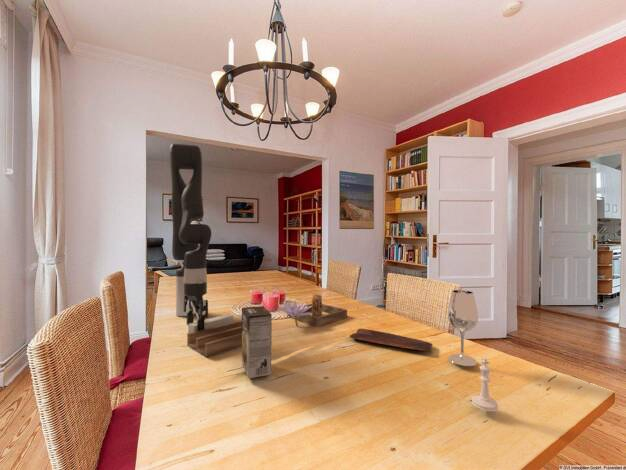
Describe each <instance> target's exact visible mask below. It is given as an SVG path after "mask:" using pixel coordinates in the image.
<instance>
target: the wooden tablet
mask: <svg viewBox="0 0 626 470" xmlns="http://www.w3.org/2000/svg"><path fill="white" fill-rule="evenodd" d="M349 338H350V339H354V340H358V341H363V342H368V343H375V344H379V345H380V344H381V345H385V346H389V347H390V346H391V347H396V348H403V349H408V350H416V351H426V352H427V351H430V350H432V348H433V343H432V342H429V341H425V340H423V339H422V340H421V339H417V338H412V337H408V336H404V335H400V334H399V335H398V334H394V333H390V332H383V331H378V330H373V329H366V328H358V329H357V330H356V332H353V333H351V334H350V335H349Z"/></svg>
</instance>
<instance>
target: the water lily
mask: <svg viewBox="0 0 626 470" xmlns="http://www.w3.org/2000/svg"><path fill="white" fill-rule="evenodd" d="M305 305H306V302H303V303H302V304H301V305H300V306H299V304H298V302H297V301H294V302H293V303H292V304H290V303H288V302H286V303H283V306H278V308H279V309H280V310H281V311H282V312H284V313H288V314H289V315H290V316H295V320H294V321H295V326H296V327H299V325H298V321H297V318H296V315H299V316H305V315H312V312H307V313H303V312H305V311H307V310H308V309H309V308H311V307H312V306H309V307H307V306H305ZM304 306H305V307H304ZM300 313H301V314H300Z"/></svg>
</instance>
